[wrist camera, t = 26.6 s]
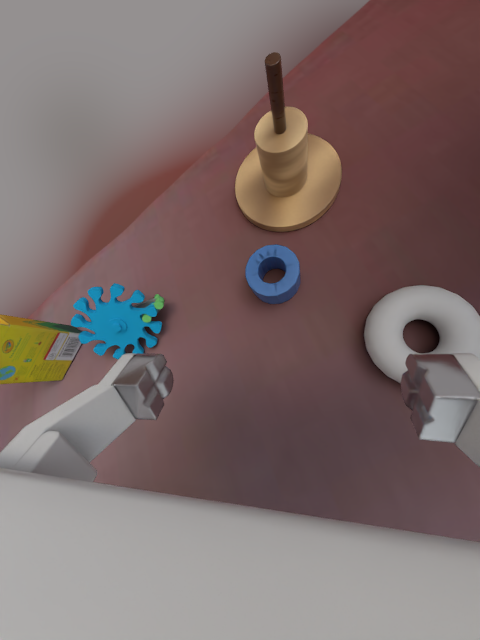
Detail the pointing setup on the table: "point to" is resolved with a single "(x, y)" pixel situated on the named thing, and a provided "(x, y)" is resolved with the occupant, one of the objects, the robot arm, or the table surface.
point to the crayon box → (35, 350)
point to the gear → (118, 320)
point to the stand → (286, 166)
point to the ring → (269, 260)
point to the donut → (426, 304)
